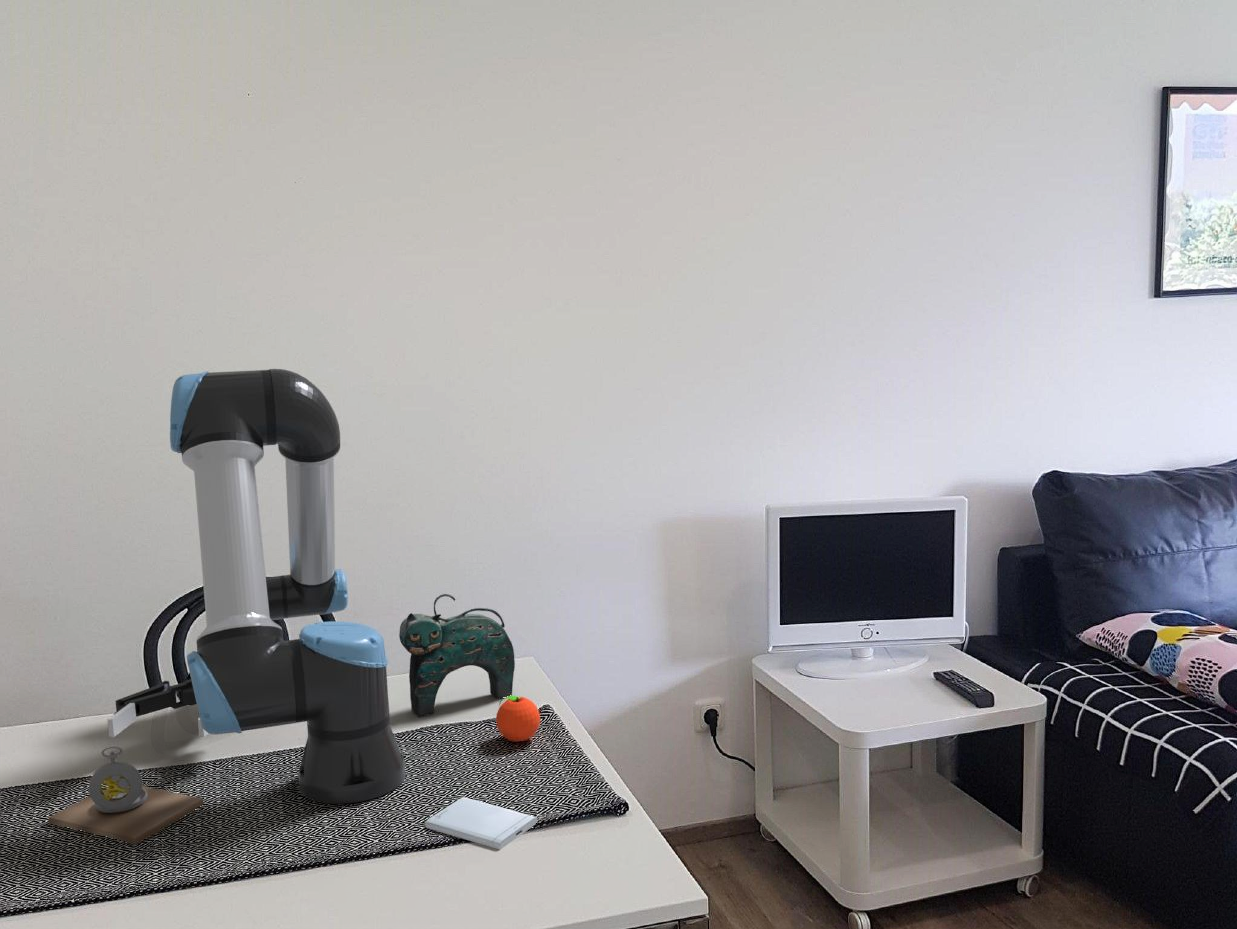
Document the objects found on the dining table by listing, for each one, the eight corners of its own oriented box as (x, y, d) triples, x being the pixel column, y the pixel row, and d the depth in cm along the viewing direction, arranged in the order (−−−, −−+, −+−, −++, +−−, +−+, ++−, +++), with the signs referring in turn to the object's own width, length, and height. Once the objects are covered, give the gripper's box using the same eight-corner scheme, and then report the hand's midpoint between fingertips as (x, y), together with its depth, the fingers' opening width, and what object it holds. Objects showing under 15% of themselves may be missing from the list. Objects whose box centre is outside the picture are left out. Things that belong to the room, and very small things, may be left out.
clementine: (483, 739, 177) (481, 696, 175) (515, 726, 182) (513, 684, 180) (517, 752, 171) (515, 708, 170) (550, 738, 176) (548, 695, 175)
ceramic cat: (410, 722, 185) (403, 605, 182) (398, 709, 190) (391, 596, 187) (520, 698, 194) (515, 586, 191) (505, 687, 200) (500, 578, 197)
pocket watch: (133, 789, 160) (126, 723, 158) (163, 805, 154) (156, 737, 153) (75, 811, 154) (68, 742, 152) (105, 828, 148) (97, 757, 147)
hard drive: (425, 820, 148) (499, 841, 142) (464, 795, 155) (537, 814, 148) (425, 832, 148) (500, 853, 142) (465, 806, 155) (537, 826, 149)
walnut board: (203, 805, 156) (202, 798, 156) (135, 845, 146) (134, 838, 145) (120, 787, 163) (119, 781, 163) (49, 824, 152) (48, 817, 152)
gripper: (293, 699, 183) (240, 752, 162) (147, 699, 185) (76, 752, 164) (290, 655, 182) (236, 703, 161) (142, 656, 184) (70, 703, 163)
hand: (155, 728), depth 162 cm, fingers open, 13 cm apart
